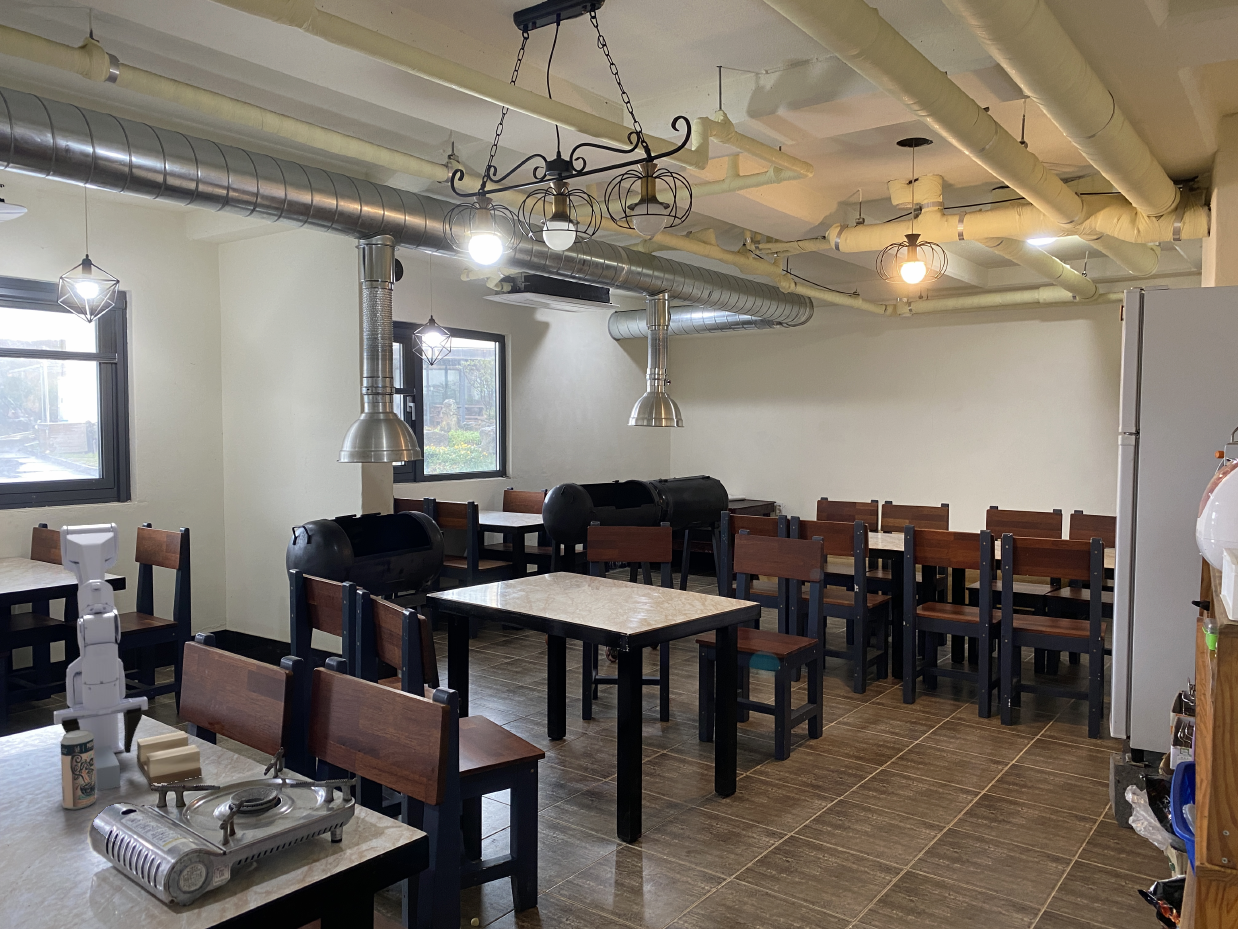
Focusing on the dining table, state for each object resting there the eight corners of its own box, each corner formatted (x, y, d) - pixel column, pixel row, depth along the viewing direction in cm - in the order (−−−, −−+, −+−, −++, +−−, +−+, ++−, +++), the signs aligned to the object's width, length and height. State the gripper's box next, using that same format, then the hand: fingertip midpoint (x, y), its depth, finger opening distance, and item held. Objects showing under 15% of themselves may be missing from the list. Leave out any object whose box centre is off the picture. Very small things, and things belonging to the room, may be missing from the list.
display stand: (136, 762, 173) (136, 738, 173) (183, 753, 178) (182, 729, 178) (152, 787, 160) (151, 762, 160) (201, 777, 165) (200, 752, 165)
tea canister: (80, 812, 150) (78, 738, 150) (55, 810, 151) (52, 737, 151) (102, 800, 155) (100, 729, 155) (78, 798, 156) (75, 728, 156)
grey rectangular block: (88, 770, 170) (88, 749, 170) (110, 766, 172) (109, 745, 172) (97, 792, 160) (96, 769, 159) (120, 787, 162) (119, 764, 161)
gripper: (55, 692, 158) (58, 771, 158) (149, 678, 166) (152, 753, 167) (51, 684, 164) (54, 760, 164) (142, 670, 172) (145, 743, 172)
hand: (103, 756), depth 166 cm, fingers open, 7 cm apart
